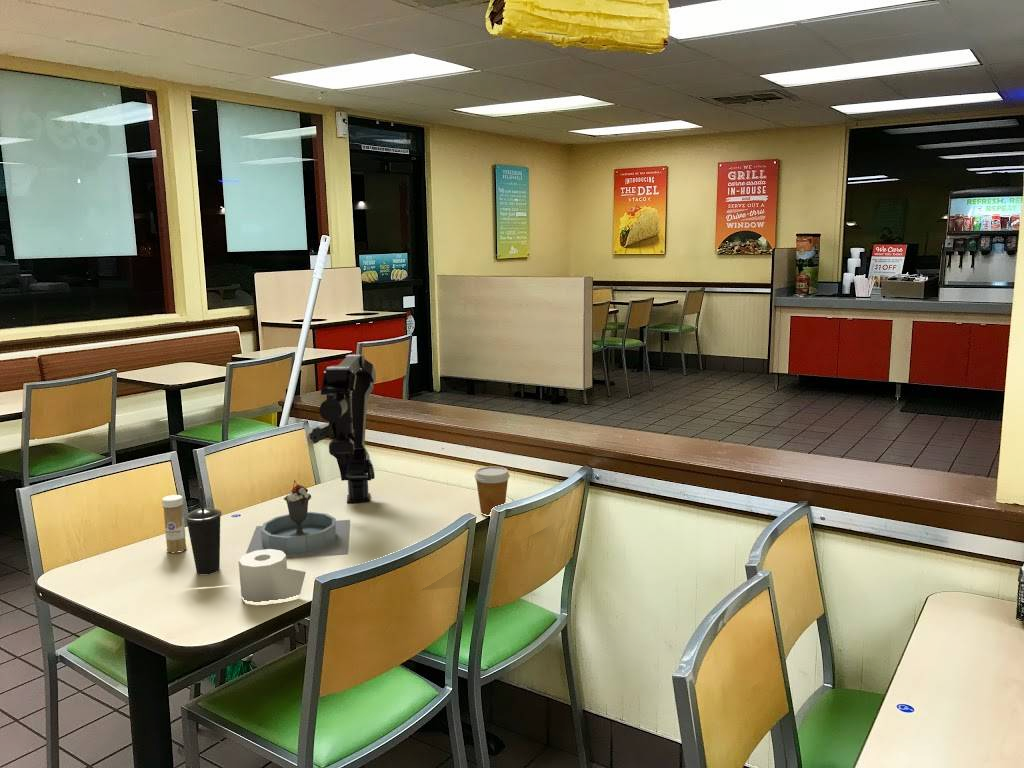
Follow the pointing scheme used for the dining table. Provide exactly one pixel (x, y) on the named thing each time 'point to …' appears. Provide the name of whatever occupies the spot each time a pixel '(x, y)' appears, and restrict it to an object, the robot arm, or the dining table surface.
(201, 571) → the drinking cup
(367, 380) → the robot arm
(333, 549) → the mat
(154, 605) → the dining table surface
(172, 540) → the sprinkles bottle
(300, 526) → the sundae
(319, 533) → the bowl
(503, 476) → the disposable coffee cup
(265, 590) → the toilet tissue
